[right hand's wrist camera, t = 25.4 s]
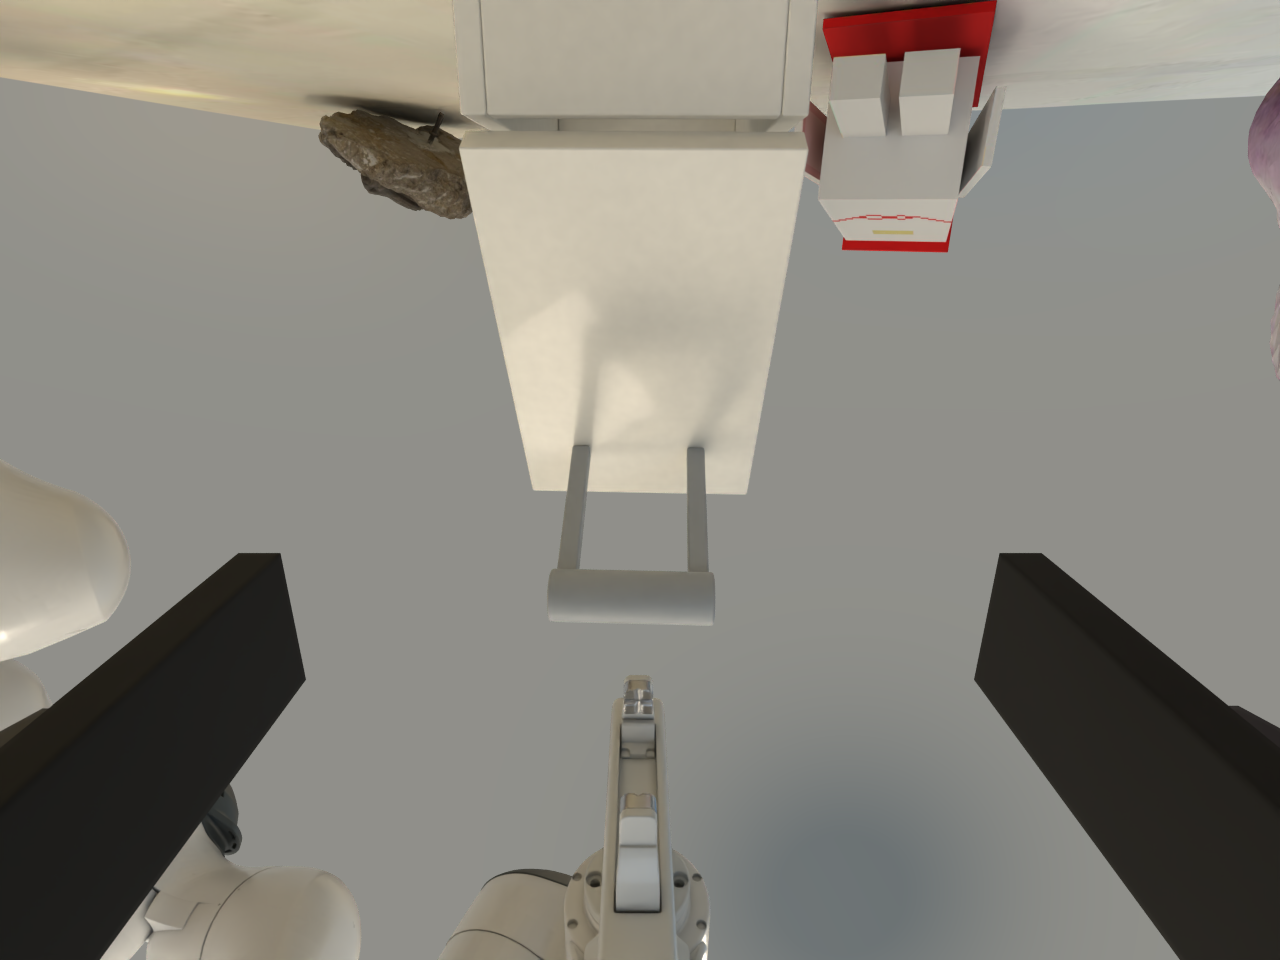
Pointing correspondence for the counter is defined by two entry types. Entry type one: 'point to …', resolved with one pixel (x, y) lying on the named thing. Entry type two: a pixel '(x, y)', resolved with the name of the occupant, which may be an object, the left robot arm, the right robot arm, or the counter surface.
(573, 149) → the lid
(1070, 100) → the counter surface
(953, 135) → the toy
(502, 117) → the chest
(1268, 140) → the figurine
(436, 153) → the fossil
